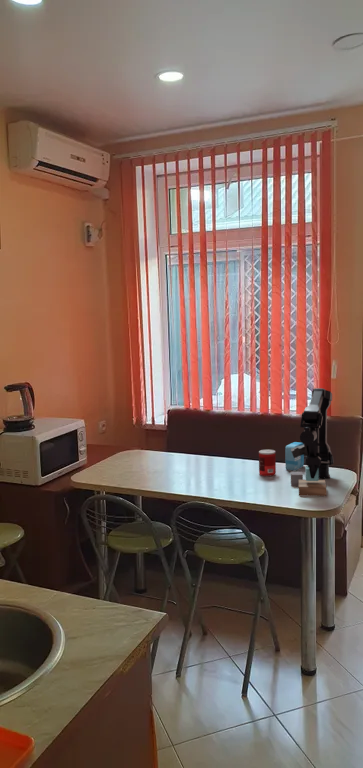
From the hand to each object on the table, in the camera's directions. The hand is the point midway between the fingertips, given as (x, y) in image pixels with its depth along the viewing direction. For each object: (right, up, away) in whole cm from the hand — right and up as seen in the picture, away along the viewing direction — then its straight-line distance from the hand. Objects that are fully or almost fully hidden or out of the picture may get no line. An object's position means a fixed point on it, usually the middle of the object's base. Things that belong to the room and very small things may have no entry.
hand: (312, 476), depth 243 cm
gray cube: (-4, -5, +12) cm, 14 cm away
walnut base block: (0, -7, +1) cm, 7 cm away
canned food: (-14, -4, +30) cm, 34 cm away
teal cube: (0, -1, 0) cm, 1 cm away
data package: (+1, -3, +40) cm, 40 cm away
